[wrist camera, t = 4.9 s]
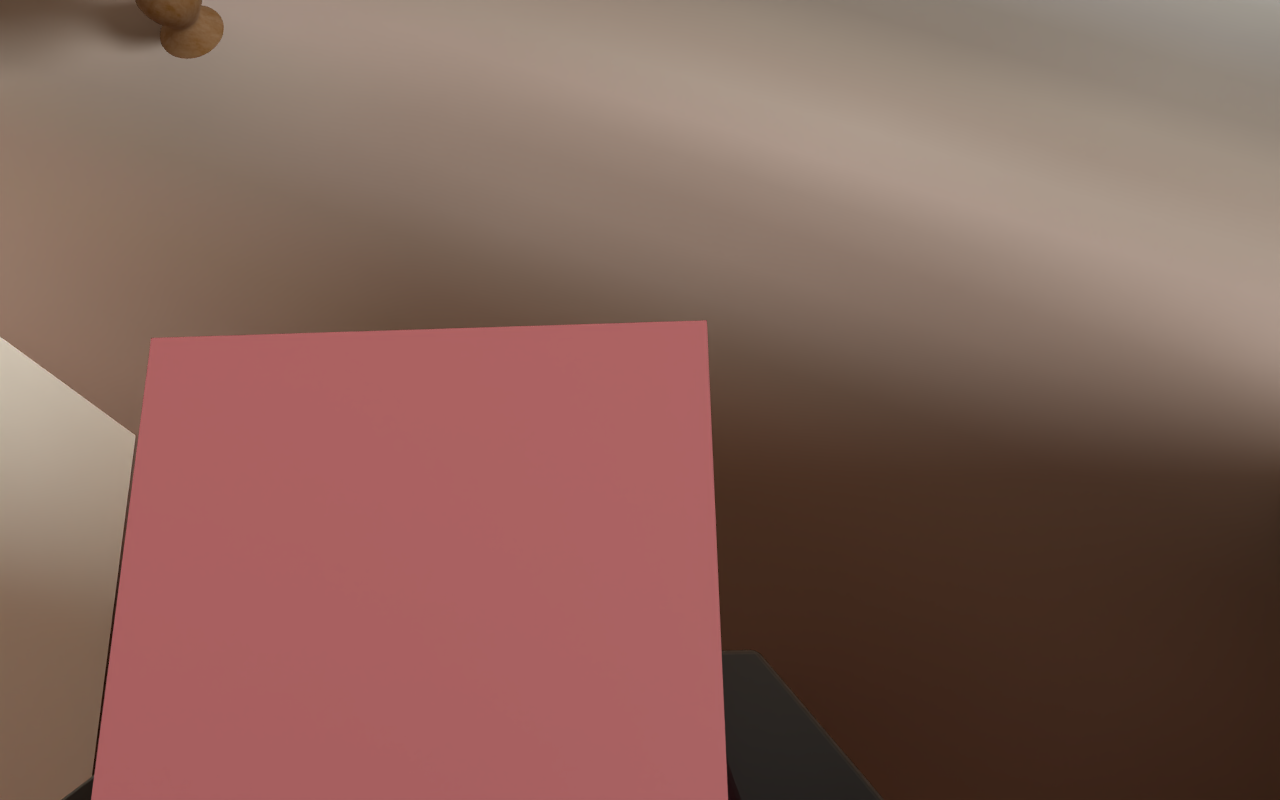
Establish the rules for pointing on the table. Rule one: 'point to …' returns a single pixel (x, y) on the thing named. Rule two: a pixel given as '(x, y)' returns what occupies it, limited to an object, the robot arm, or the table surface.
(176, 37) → the place setting
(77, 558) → the rack
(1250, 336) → the table surface
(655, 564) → the pinkish-red rectangular block
